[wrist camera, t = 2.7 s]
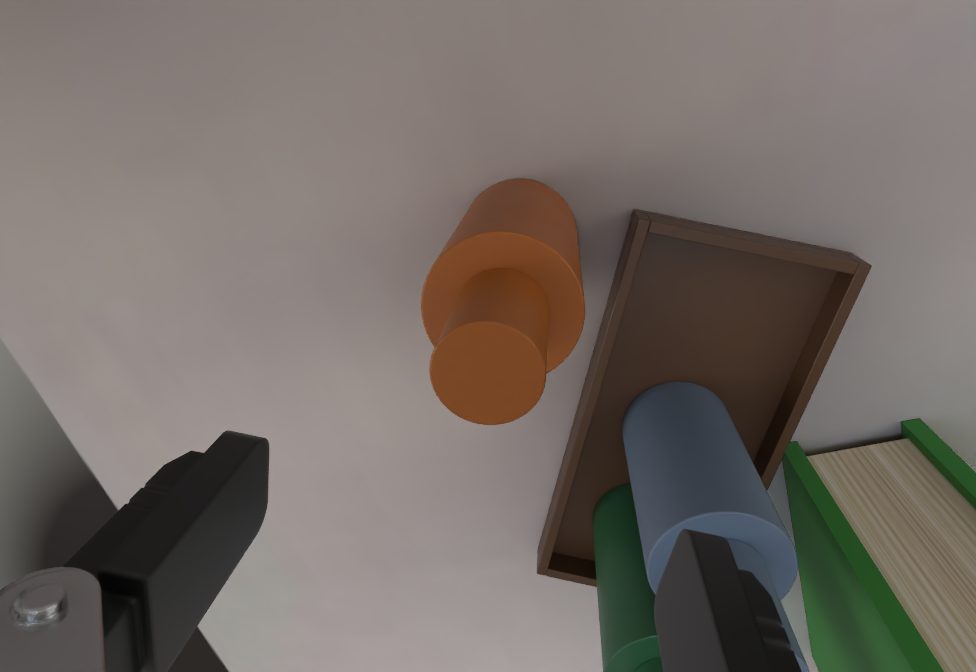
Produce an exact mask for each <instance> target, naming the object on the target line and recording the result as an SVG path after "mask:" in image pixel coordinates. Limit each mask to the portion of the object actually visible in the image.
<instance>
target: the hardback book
mask: <svg viewBox="0 0 976 672" xmlns="http://www.w3.org/2000/svg"><path fill="white" fill-rule="evenodd" d="M901 423H902V438H903V439H901V440H896V441H890V442H885V443H879V444H873V445H868V446H862V447H857V448H851V449H846V450H840V451H834V452H829V453H823V454H818V455H812V456H806V455H805V453H804V452H803V450H802V449H801V447H800V446H799V444H798V442H797V441H795V442H790V443H789V445H788V447H787V449H786V451H785V453H784V455H783V457H782V461H783V468H784V474H785V481H786V487H787V494H788V500H789V507H790V513H791V520H792V527H793V533H794V540H795V546H796V553H797V559H798V566H799V572H800V579H801V585H802V592H803V599H804V605H805V612H806V618H807V625H808V631H809V638H810V644H811V651H812V656H813V659H814V661H815V663H816V666H817V668H818V670H819V672H976V473H975V472H974V471H973V470H972V469H971V468H970V467H969V466H968V465H967V464H966V463H965V462H964V461H963V460H962V459H961V458H960V457H959V456H958V455H957V454H956V453H955V452H954V451H953V450H952V449H951V448H950V447H949V446H948V445H947V444H945V443H944V442H943V441H942V440H941V439H940V438H939V437H938V436H937V435H936V434H935V433H934V432H933V431H932V430H931V429H930V428H929V427H928V426H927V425H926V424H925V423H924V422H923V421H922V420H921V419H920V418H919V419H914V420H909V421H903V422H901Z"/></svg>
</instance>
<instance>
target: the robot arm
mask: <svg viewBox="0 0 976 672" xmlns="http://www.w3.org/2000/svg"><path fill="white" fill-rule="evenodd" d="M268 474H269V443H268V440H267V439H266V438H262V437H257V436H252V435H248V434H243V433H238V432H233V431H225V432H224V433H223V434H222V435H221V436H220V437H219V438H218V439H217V440H216V441H215V442H214V443H213V444H212V445H211V446H210V447H209V448H208V450H207V451H206V452H205V453H200V452H196V451H190V452H188V453H186V454H184V455H182V456H180V457H179V458H177V459H175V460H173V461H171V462H169V463H167V464H165V465H164V466H163V467H162V468H161V469H160V470H159V471H158V472H157V473H156V474H155V475H154V476H153V477H152V478H151V479H150V480H149V481H148V482H147V483H146V485H145V487H144V488H141V489H140V490H139V491H138V492H137V493H136V494H135V495H134V496H133V497H132V498H131V499H130V501H129V503H128V504H125V505H124V506H123V507H122V508H121V509H120V510H119V511H118V512H117V513H116V514H115V515H114V516H113V517H112V518H111V519H110V520H109V521H108V522H107V523H106V524H105V525H104V526H103V527H102V528H101V529H100V530H99V531H98V532H97V533H96V534H95V535H94V536H93V537H92V538H91V539H90V540H89V541H88V542H87V543H86V544H85V545H84V546H83V547H82V548H81V549H80V550H79V551H78V552H77V553H76V554H75V555H74V556H73V557H72V558H71V559H70V560H69V561H68V562H67V563H66V564H65V565H64V566H63V567H57V568H50V569H44V570H41V571H37V572H33V573H31V574H28V575H26V576H23V577H21V578H19V579H17V580H15V581H13V582H11V583H10V584H8V585H7V586H5V587H4V588H2V589H1V590H0V672H168V670H169V668H170V667H171V665H172V664H173V662H174V661H175V659H176V658H177V656H178V655H179V653H180V651H181V650H182V649H183V647H184V646H185V644H186V642H187V641H188V639H189V638H190V636H191V635H192V633H193V632H194V630H195V629H196V627H197V626H198V624H199V623H200V621H201V619H202V618H203V616H204V615H205V613H206V612H207V610H208V609H209V607H210V606H211V604H212V603H213V601H214V599H215V598H216V596H217V595H218V593H219V592H220V590H221V589H222V587H223V586H224V584H225V583H226V581H227V580H228V578H229V576H230V575H231V573H232V572H233V570H234V569H235V567H236V566H237V564H238V563H239V561H240V560H241V558H242V557H243V555H244V553H245V552H246V550H247V549H248V547H249V546H250V544H251V543H252V541H253V540H254V538H255V537H256V535H257V533H258V531H259V529H260V527H261V525H262V523H263V520H264V517H265V513H266V509H267V503H268ZM654 620H655V627H656V633H657V638H658V644H659V650H660V656H661V662H662V668H663V672H802V671H801V668H800V666H799V663H798V661H797V658H796V656H795V654H794V651H793V650H791V648H790V647H791V644H790V641H789V639H788V636H787V634H786V631H785V629H784V628H782V621H781V619H780V616H779V614H778V611H777V609H776V606H775V604H774V601H773V599H772V596H771V595H770V594H769V593H768V592H767V590H766V589H765V588H764V587H763V585H762V584H761V583H760V582H759V580H758V579H757V578H756V577H755V576H754V574H753V573H752V572H750V571H746V570H741V569H738V567H737V564H736V562H735V559H734V556H733V553H732V550H731V548H730V545H729V542H728V541H727V539H726V538H725V537H722V536H717V535H712V534H708V533H703V532H698V531H693V530H689V529H683V530H682V531H681V532H680V533H679V535H678V537H677V540H676V542H675V545H674V547H673V550H672V553H671V555H670V558H669V560H668V563H667V565H666V568H665V570H664V573H663V575H662V578H661V580H660V583H659V585H658V588H657V592H656V597H655V605H654Z"/></svg>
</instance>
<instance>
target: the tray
mask: <svg viewBox="0 0 976 672" xmlns="http://www.w3.org/2000/svg"><path fill="white" fill-rule="evenodd" d="M870 269H871V265H870V264H868V263H867V262H865V261H863V260H862V259H860V258H859V257H857V256H855V255H854V254H852V253H849V252H844V251H839V250H834V249H829V248H825V247H820V246H815V245H810V244H805V243H800V242H795V241H790V240H785V239H780V238H775V237H770V236H765V235H760V234H755V233H750V232H746V231H741V230H736V229H731V228H726V227H721V226H716V225H711V224H706V223H701V222H696V221H691V220H686V219H681V218H676V217H672V216H667V215H662V214H657V213H652V212H647V211H642V210H637V209H634V210H633V213H632V216H631V220H630V224H629V227H628V231H627V234H626V238H625V241H624V245H623V248H622V252H621V256H620V259H619V263H618V266H617V270H616V273H615V277H614V280H613V284H612V287H611V291H610V295H609V298H608V302H607V305H606V309H605V312H604V316H603V319H602V323H601V327H600V330H599V334H598V337H597V341H596V344H595V348H594V351H593V355H592V359H591V362H590V366H589V369H588V373H587V376H586V380H585V383H584V387H583V390H582V394H581V398H580V401H579V405H578V408H577V412H576V415H575V419H574V422H573V426H572V430H571V433H570V437H569V440H568V444H567V447H566V451H565V454H564V458H563V462H562V465H561V469H560V472H559V476H558V479H557V483H556V486H555V490H554V493H553V497H552V501H551V504H550V508H549V511H548V515H547V518H546V522H545V525H544V529H543V533H542V536H541V540H540V543H539V547H538V557H537V574H541V575H546V576H549V577H554V578H558V579H563V580H567V581H572V582H577V583H581V584H586V585H590V586H595V587H597V580H596V566H595V553H594V539H593V526H592V515H593V511H594V508H595V506H596V504H597V503H598V501H599V500H600V499H601V497H602V496H603V495H605V494H606V493H607V492H608V491H610V490H611V489H613V488H615V487H617V486H619V485H622V484H625V483H629V482H631V481H630V476H629V470H628V464H627V458H626V453H625V447H624V441H623V435H622V422H623V418H624V415H625V413H626V411H627V409H628V407H629V406H630V404H631V403H632V402H633V401H634V400H635V399H636V398H637V397H638V396H639V395H640V394H642V393H643V392H644V391H646V390H648V389H650V388H652V387H654V386H657V385H660V384H663V383H668V382H688V383H693V384H697V385H700V386H702V387H705V388H706V389H708V390H710V391H711V392H713V393H714V394H715V395H716V396H717V397H718V398H719V399H720V400H721V401H722V403H723V404H724V406H725V408H726V410H727V412H728V414H729V416H730V418H731V420H732V422H733V424H734V426H735V428H736V430H737V432H738V434H739V436H740V438H741V440H742V442H743V444H744V446H745V448H746V450H747V452H748V454H749V456H750V458H751V460H752V462H753V464H754V466H755V468H756V470H757V472H758V474H759V476H760V478H761V481H762V483H763V485H764V487H765V489H766V491H767V490H768V488H769V485H770V483H771V481H772V479H773V477H774V475H775V473H776V470H777V468H778V466H779V464H780V462H781V460H782V457H783V455H784V453H785V451H786V449H787V447H788V445H789V442H790V440H791V438H792V436H793V434H794V432H795V430H796V427H797V425H798V423H799V421H800V419H801V417H802V415H803V412H804V410H805V408H806V406H807V404H808V402H809V400H810V397H811V395H812V393H813V391H814V389H815V387H816V385H817V382H818V380H819V378H820V376H821V374H822V372H823V370H824V367H825V365H826V363H827V361H828V359H829V357H830V354H831V352H832V350H833V348H834V346H835V344H836V342H837V339H838V337H839V335H840V333H841V331H842V329H843V327H844V324H845V322H846V320H847V318H848V316H849V314H850V312H851V309H852V307H853V305H854V303H855V301H856V299H857V297H858V294H859V292H860V290H861V288H862V286H863V284H864V282H865V279H866V277H867V275H868V273H869V271H870Z"/></svg>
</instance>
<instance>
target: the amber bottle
mask: <svg viewBox="0 0 976 672" xmlns="http://www.w3.org/2000/svg"><path fill="white" fill-rule="evenodd" d="M421 311H422V318H423V323H424V327H425V329H426V332H427V335H428V337H429V339H430V341H431V343H432V344H433V346H434V347H435V348H434V351H433V353H432V356H431V360H430V379H431V383H432V386H433V389H434V391H435V393H436V395H437V396H438V398H439V399H440V401H441V402H442V403H443V404H444V405H445V406H446V407H447V408H448V409H449V410H450V411H451V412H453V413H454V414H456V415H457V416H459V417H461V418H463V419H465V420H468V421H470V422H474V423H477V424H484V425H497V424H504V423H508V422H511V421H514V420H516V419H518V418H520V417H522V416H523V415H525V414H526V413H527V412H529V411H530V410H531V409H532V408H533V407H534V406H535V405H536V403H537V402H538V400H539V399H540V397H541V395H542V393H543V390H544V387H545V382H546V374H547V373H548V372H550V371H551V370H553V369H555V368H556V367H557V366H558V365H559V364H561V363H562V362H563V361H564V360H565V359H566V358H567V356H568V355H569V354H570V353H571V351H572V350H573V348H574V347H575V345H576V343H577V341H578V339H579V337H580V334H581V331H582V328H583V324H584V318H585V303H584V293H583V284H582V275H581V266H580V257H579V248H578V239H577V230H576V224H575V219H574V217H573V214H572V211H571V210H570V208H569V206H568V204H567V203H566V202H565V200H564V199H563V198H562V197H561V196H560V195H559V194H558V193H557V192H556V191H554V190H553V189H552V188H550V187H548V186H547V185H545V184H542V183H540V182H537V181H533V180H528V179H511V180H506V181H502V182H499V183H497V184H495V185H493V186H491V187H489V188H488V189H486V190H485V191H484V192H482V193H481V194H480V195H479V196H478V197H477V198H476V200H475V201H474V202H473V204H472V205H471V207H470V208H469V210H468V211H467V213H466V214H465V216H464V218H463V219H462V221H461V222H460V224H459V225H458V227H457V229H456V230H455V232H454V233H453V235H452V236H451V238H450V240H449V241H448V243H447V244H446V246H445V247H444V249H443V250H442V252H441V254H440V255H439V257H438V258H437V260H436V261H435V263H434V265H433V266H432V268H431V270H430V272H429V273H428V275H427V278H426V281H425V283H424V287H423V291H422V299H421Z"/></svg>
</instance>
